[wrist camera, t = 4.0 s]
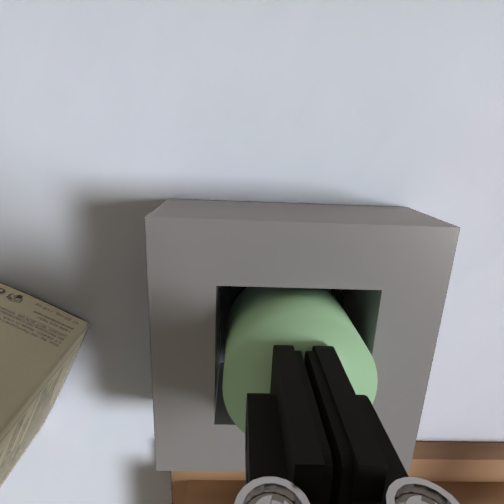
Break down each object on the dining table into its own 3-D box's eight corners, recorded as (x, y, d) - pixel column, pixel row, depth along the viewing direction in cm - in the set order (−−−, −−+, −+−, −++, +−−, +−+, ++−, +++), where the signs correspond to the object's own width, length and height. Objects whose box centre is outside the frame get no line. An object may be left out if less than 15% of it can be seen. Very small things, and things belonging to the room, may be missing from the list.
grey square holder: (407, 207, 14) (460, 227, 10) (374, 405, 16) (409, 472, 13) (168, 198, 13) (144, 216, 10) (173, 402, 16) (156, 470, 13)
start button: (350, 274, 13) (388, 319, 10) (337, 379, 14) (367, 451, 11) (228, 271, 13) (223, 315, 10) (225, 377, 14) (221, 450, 11)
